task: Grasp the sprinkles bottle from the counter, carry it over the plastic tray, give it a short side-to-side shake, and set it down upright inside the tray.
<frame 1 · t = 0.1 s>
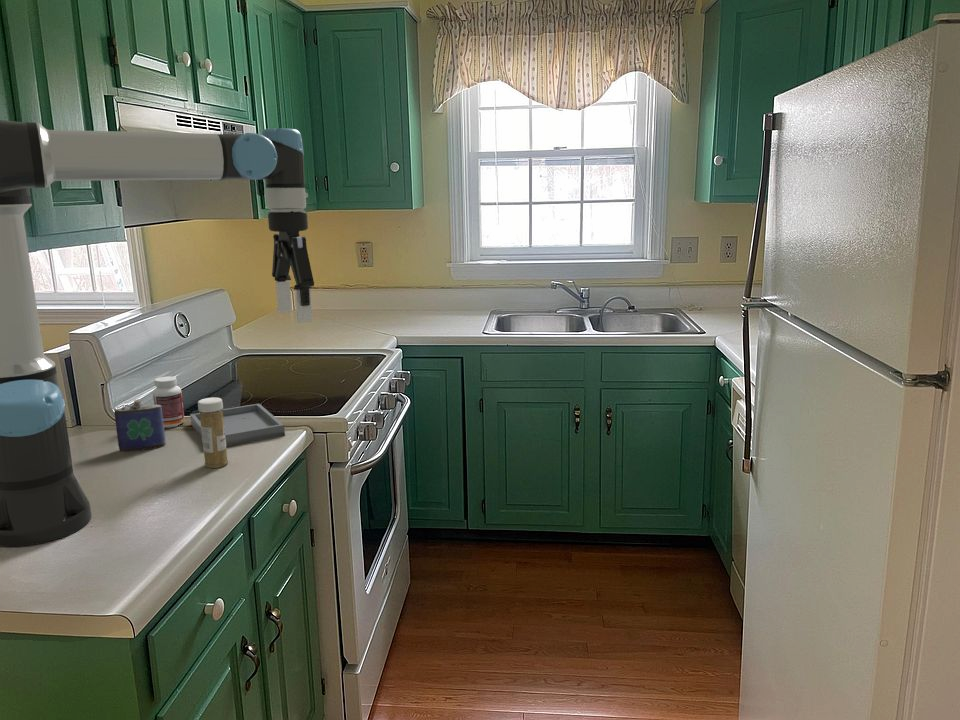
hand: (294, 317, 154), 28 cm above the countertop, fingers open, 13 cm apart
flask: (142, 448, 161), on the countertop
tray: (236, 430, 172), on the countertop
pill bottle: (170, 425, 177), on the countertop
sprinkles bottle: (216, 465, 151), on the countertop
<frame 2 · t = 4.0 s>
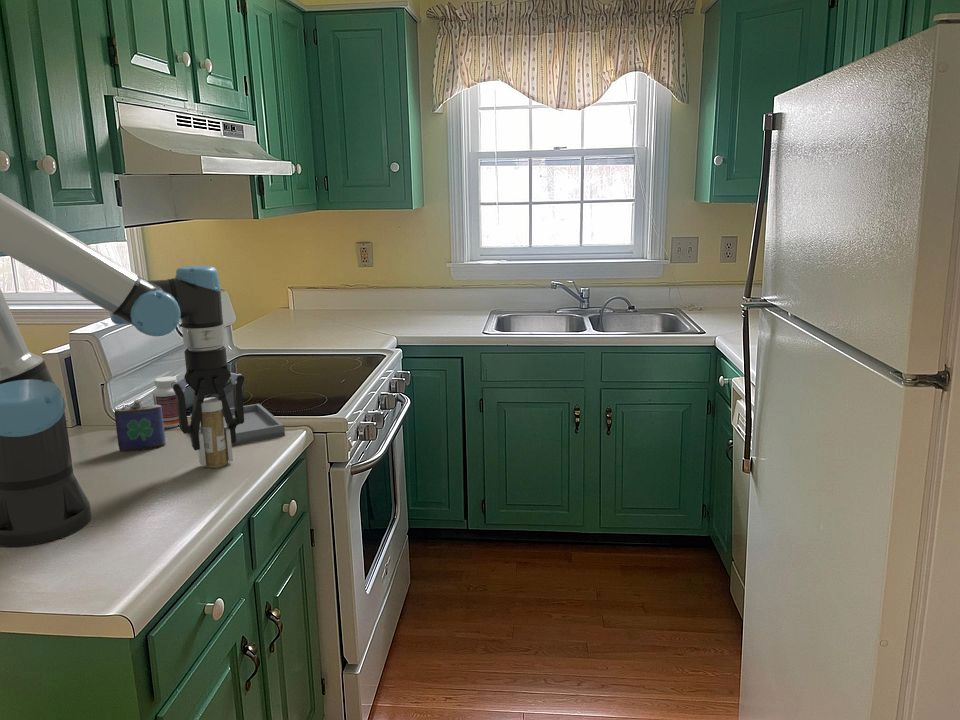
hand: (216, 461, 151), 1 cm above the countertop, fingers closed on sprinkles bottle, 4 cm apart
sprinkles bottle: (216, 465, 151), on the countertop, touching gripper
everything else where it was.
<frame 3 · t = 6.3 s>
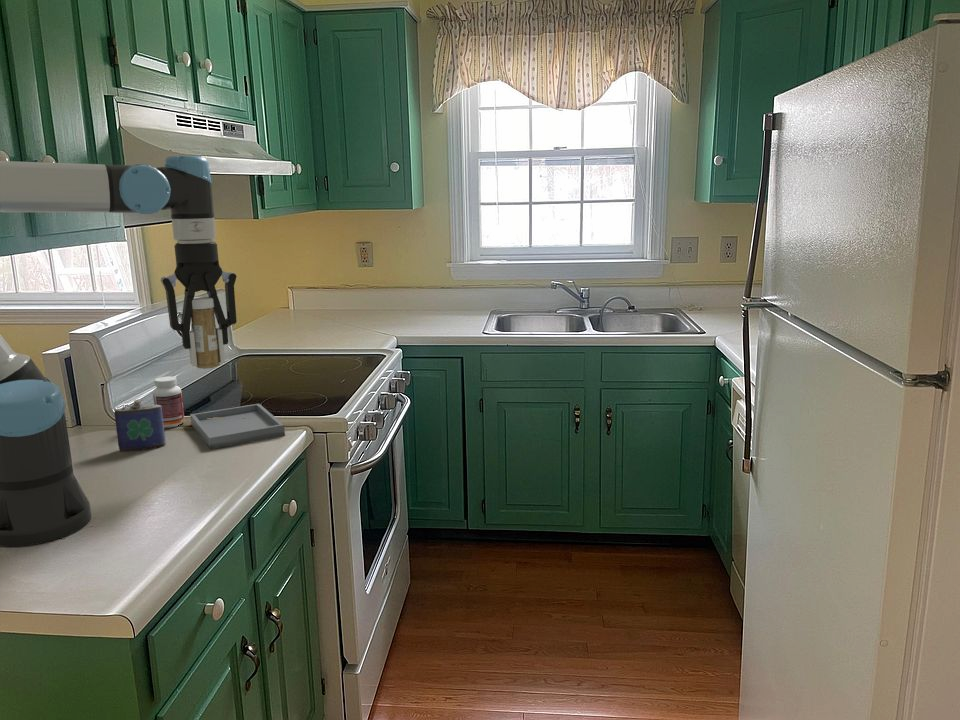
hand: (207, 362, 147), 21 cm above the countertop, fingers closed on sprinkles bottle, 4 cm apart
sprinkles bottle: (207, 367, 147), point 20 cm above the countertop, touching gripper
everything else where it was.
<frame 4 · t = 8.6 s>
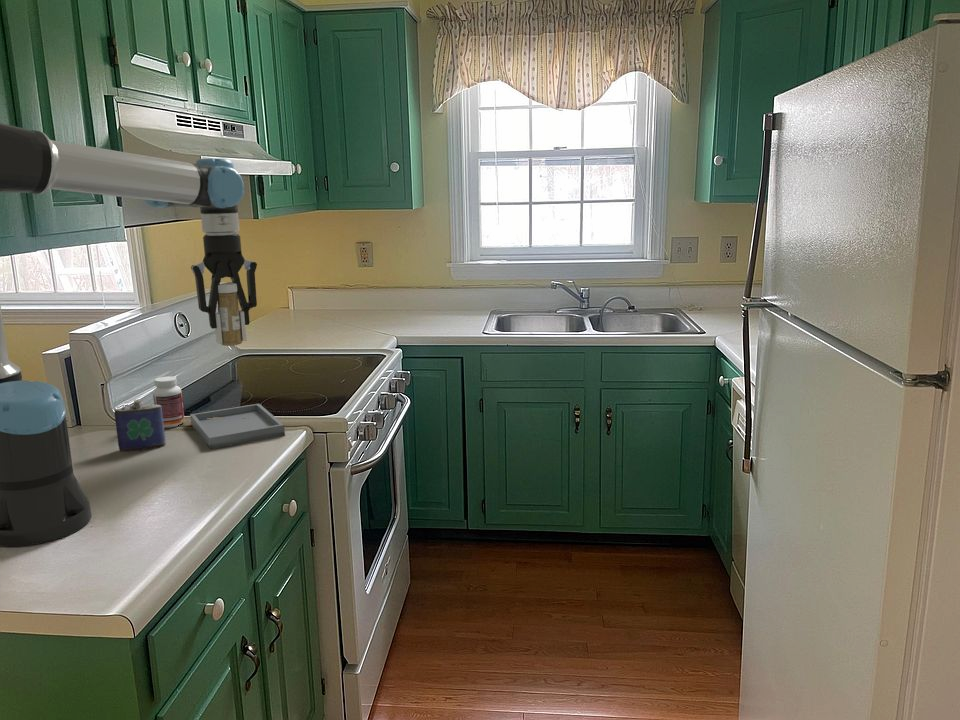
hand: (231, 341, 166), 21 cm above the countertop, fingers closed on sprinkles bottle, 4 cm apart
sprinkles bottle: (231, 345, 166), point 20 cm above the countertop, touching gripper
everything else where it was.
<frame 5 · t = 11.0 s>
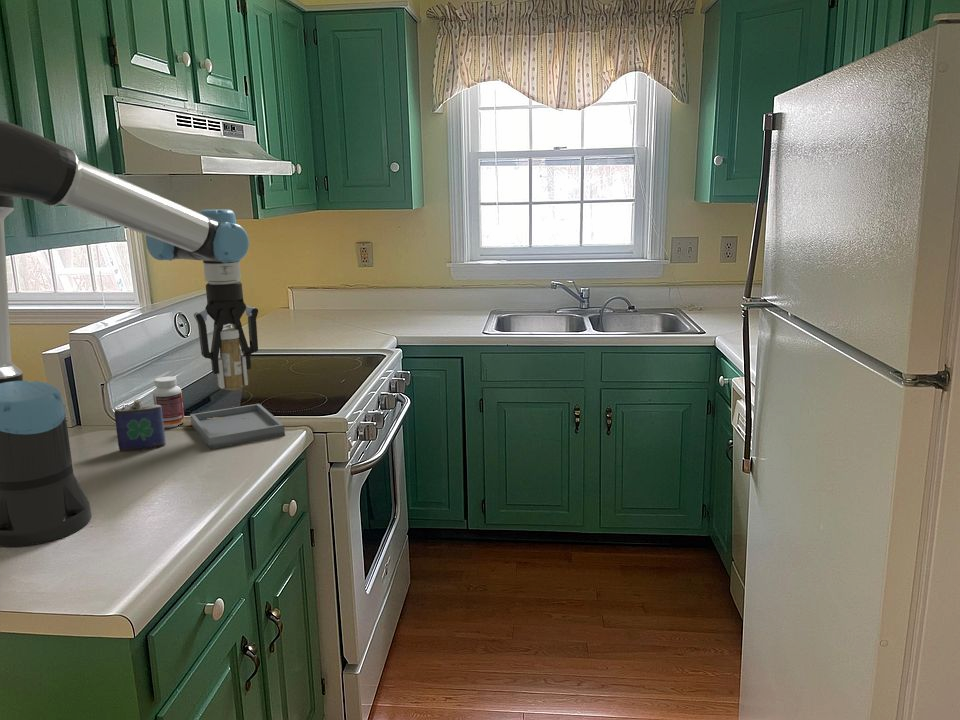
hand: (233, 385, 170), 11 cm above the countertop, fingers closed on sprinkles bottle, 4 cm apart
sprinkles bottle: (233, 389, 170), point 10 cm above the countertop, touching gripper
everything else where it was.
when the fingers open (3 cm above the countertop, at t = 13.1 s): sprinkles bottle drops 1 cm, resting on tray.
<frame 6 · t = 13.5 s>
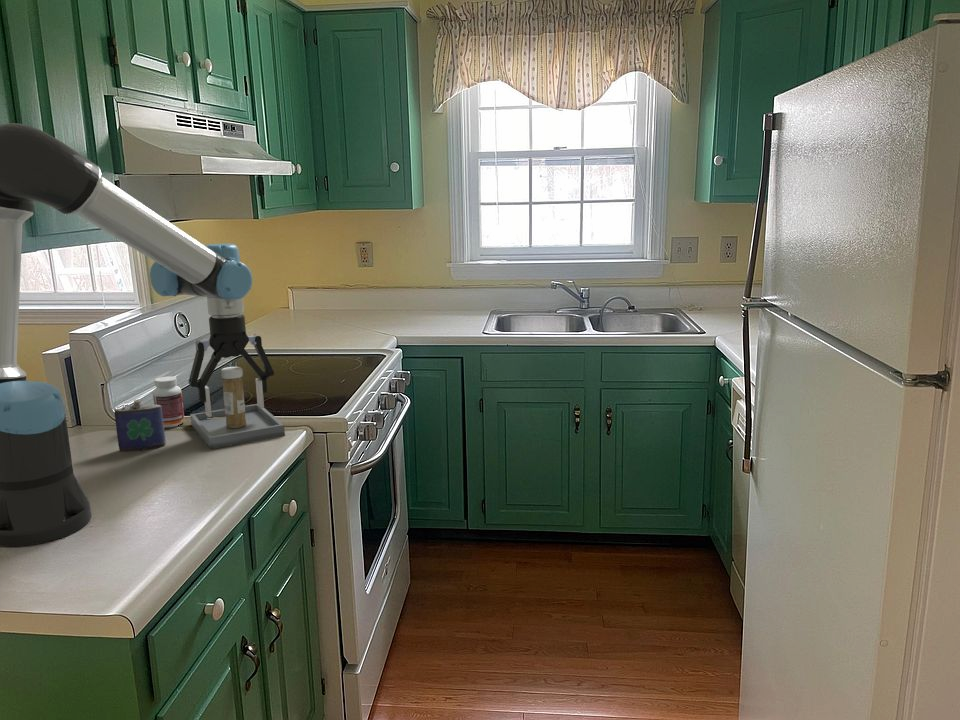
hand: (235, 411, 171), 4 cm above the countertop, fingers open, 11 cm apart
sprinkles bottle: (236, 426, 172), point 1 cm above the countertop, touching tray
everything else where it was.
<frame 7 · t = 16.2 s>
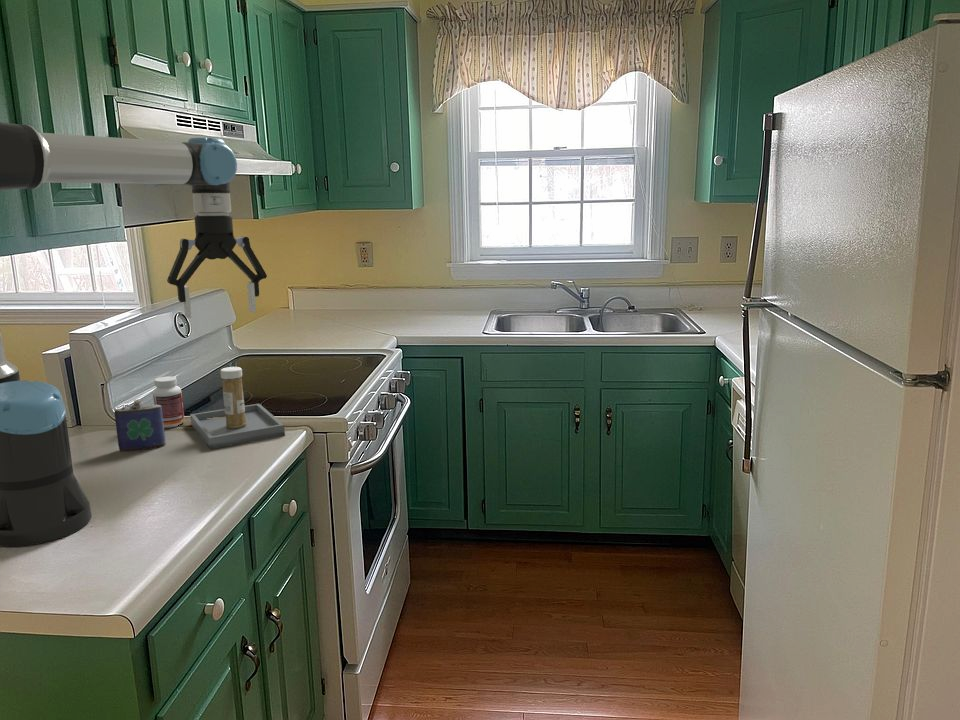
hand: (221, 314, 164), 27 cm above the countertop, fingers open, 13 cm apart
nothing on the countertop moved.
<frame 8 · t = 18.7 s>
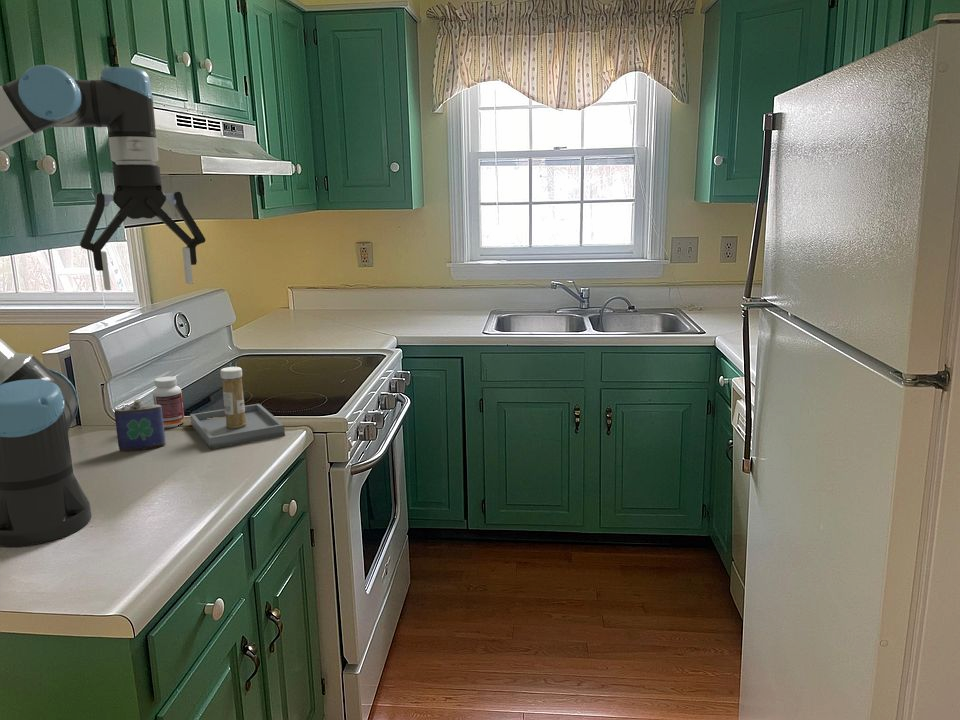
hand: (149, 286, 136), 37 cm above the countertop, fingers open, 13 cm apart
nothing on the countertop moved.
at the end: sprinkles bottle inside the target area on the tray (0.1 cm from its centre), point 0.8 cm above the tray's base; sprinkles bottle tilted 0°; the gripper is holding nothing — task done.
